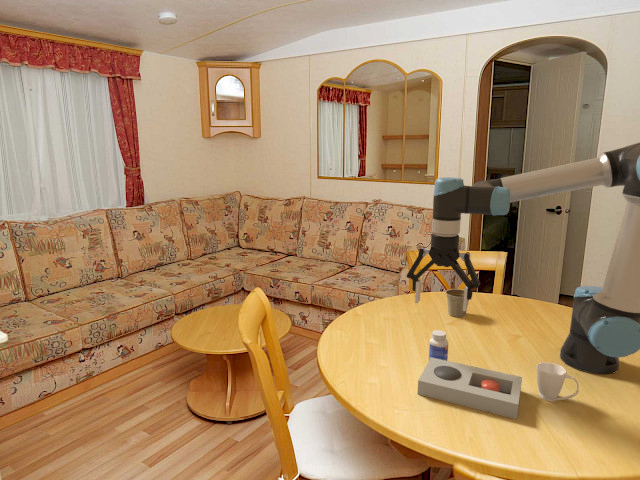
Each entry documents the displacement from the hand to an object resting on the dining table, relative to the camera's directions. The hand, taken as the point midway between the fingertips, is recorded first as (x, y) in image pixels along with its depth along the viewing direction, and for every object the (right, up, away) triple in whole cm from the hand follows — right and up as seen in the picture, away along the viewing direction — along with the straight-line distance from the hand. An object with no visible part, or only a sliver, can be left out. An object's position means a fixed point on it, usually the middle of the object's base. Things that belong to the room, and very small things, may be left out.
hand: (440, 305), depth 130 cm
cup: (+26, -22, -14) cm, 36 cm away
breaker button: (+9, -20, -14) cm, 26 cm away
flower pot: (+17, -9, +41) cm, 45 cm away
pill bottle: (0, -18, +4) cm, 18 cm away
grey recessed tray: (+5, -21, -11) cm, 24 cm away
